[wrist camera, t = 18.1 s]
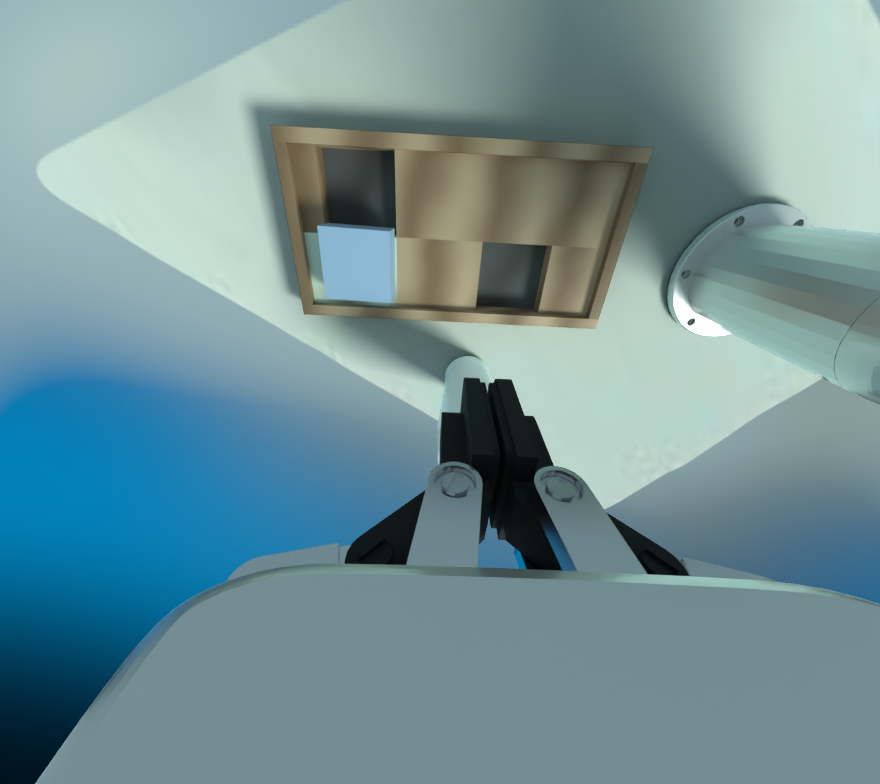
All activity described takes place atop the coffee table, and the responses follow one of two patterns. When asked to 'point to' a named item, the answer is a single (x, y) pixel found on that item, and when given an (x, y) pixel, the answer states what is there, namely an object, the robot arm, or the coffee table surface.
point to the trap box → (465, 221)
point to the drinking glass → (459, 385)
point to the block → (358, 262)
